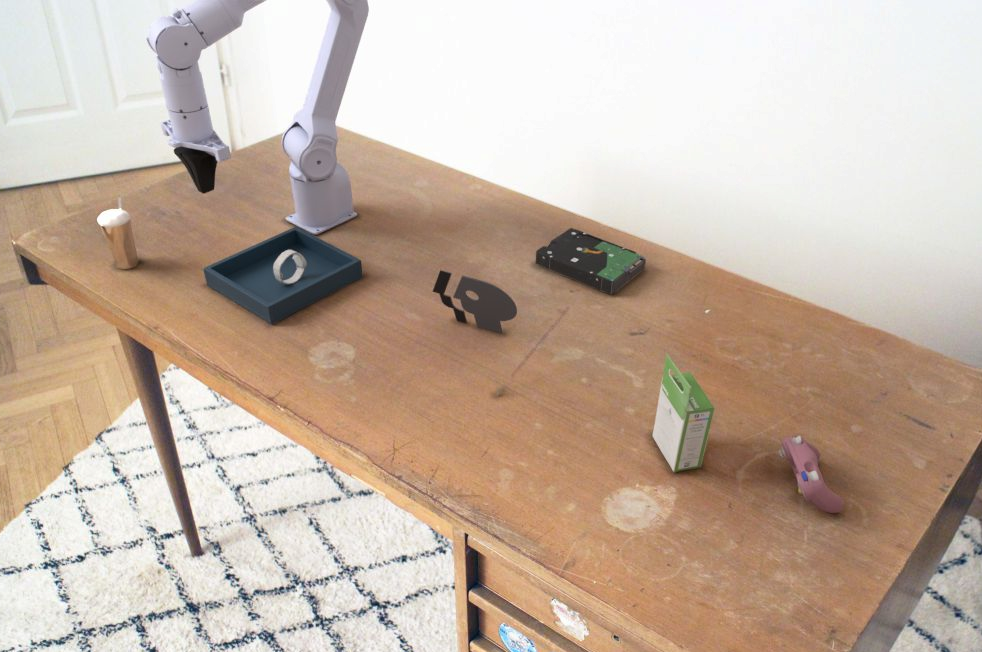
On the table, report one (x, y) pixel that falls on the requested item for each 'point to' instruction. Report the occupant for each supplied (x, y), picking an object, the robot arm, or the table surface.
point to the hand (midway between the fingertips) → (206, 190)
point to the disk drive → (590, 260)
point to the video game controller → (809, 474)
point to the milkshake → (119, 236)
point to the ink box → (682, 419)
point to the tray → (255, 282)
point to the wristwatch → (299, 262)
